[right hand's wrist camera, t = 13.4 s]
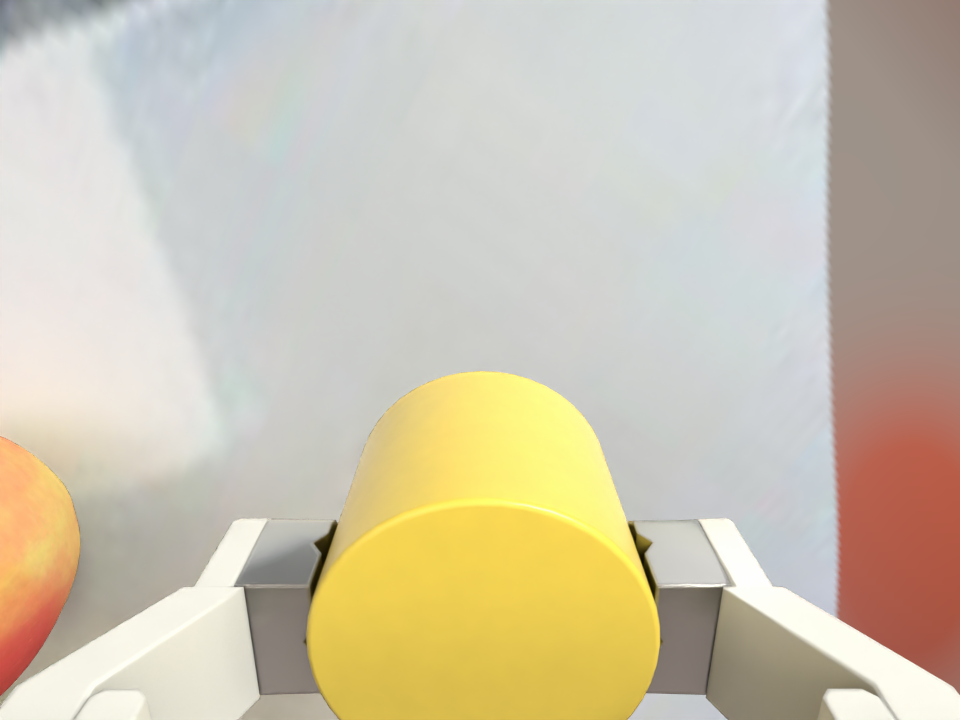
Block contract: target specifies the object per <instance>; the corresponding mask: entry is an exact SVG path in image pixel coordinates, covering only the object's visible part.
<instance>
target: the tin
mask: <svg viewBox="0 0 960 720" xmlns="http://www.w3.org/2000/svg"><path fill="white" fill-rule="evenodd" d="M306 641H307V654H308V658H309V662H310V666H311V670H312V674H313V677H314V679H315V682H316V684H317V686H318V689H319V691H320V693H321V695H322V696H323V698H324V700H325V701H326V703H327V705H328V706H329V708H330V709H331V710H332V711H333V713H334V714H335V715H336V716H337V718H338V719H339V720H627V719H628V718H629V717H630V716H631V715H632V714H633V712H634V711H635V709H636V708H637V707H638V705H639V704H640V702H641V701H642V699H643V697H644V695H645V694H646V692H647V690H648V688H649V686H650V684H651V681H652V678H653V675H654V672H655V669H656V666H657V661H658V655H659V648H660V623H659V617H658V612H657V607H656V604H655V601H654V598H653V595H652V592H651V590H650V587H649V584H648V581H647V578H646V575H645V572H644V569H643V567H642V564H641V561H640V558H639V555H638V552H637V549H636V547H635V544H634V541H633V538H632V535H631V532H630V529H629V526H628V524H627V521H626V518H625V515H624V512H623V509H622V506H621V503H620V501H619V498H618V495H617V492H616V489H615V486H614V483H613V481H612V478H611V475H610V472H609V469H608V466H607V463H606V460H605V458H604V455H603V452H602V449H601V446H600V443H599V441H598V439H597V437H596V435H595V433H594V431H593V429H592V427H591V426H590V425H589V423H588V422H587V421H586V419H585V418H584V416H583V415H582V414H581V413H580V412H579V411H578V410H577V409H576V408H575V407H574V406H573V405H572V404H571V403H570V402H569V401H567V400H566V399H565V398H563V397H562V396H561V395H560V394H558V393H556V392H555V391H553V390H551V389H550V388H548V387H546V386H544V385H542V384H540V383H537V382H535V381H533V380H530V379H527V378H524V377H520V376H517V375H513V374H507V373H500V372H486V371H476V372H465V373H458V374H454V375H449V376H444V377H441V378H439V379H436V380H433V381H430V382H428V383H426V384H424V385H422V386H420V387H418V388H416V389H414V390H412V391H411V392H409V393H408V394H406V395H405V396H403V397H402V398H400V399H399V400H398V401H397V402H396V403H395V404H394V405H392V406H391V407H390V408H389V409H388V410H387V411H386V412H385V414H384V415H383V416H382V417H381V418H380V420H379V421H378V422H377V424H376V425H375V427H374V428H373V430H372V432H371V433H370V435H369V438H368V440H367V442H366V444H365V447H364V449H363V452H362V455H361V458H360V461H359V464H358V467H357V470H356V473H355V476H354V479H353V481H352V484H351V487H350V490H349V493H348V496H347V499H346V502H345V505H344V508H343V511H342V514H341V517H340V519H339V522H338V525H337V528H336V531H335V534H334V537H333V540H332V543H331V546H330V549H329V552H328V555H327V558H326V560H325V563H324V566H323V569H322V572H321V575H320V578H319V581H318V584H317V587H316V590H315V593H314V596H313V599H312V602H311V606H310V610H309V614H308V619H307V630H306Z"/></svg>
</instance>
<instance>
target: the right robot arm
mask: <svg viewBox="0 0 960 720" xmlns="http://www.w3.org/2000/svg"><path fill="white" fill-rule="evenodd" d="M337 525H338V524H337V522H336V520H309V519H271V520H270V519H268V518H266V519H237V520H235V521H233V522H232V523H231V525H230V527H229V528H228V530H227V532H226V533H225V535H224V537H223V538H222V540H221V542H220V543H219V545H218V547H217V548H216V550H215V552H214V553H213V555H212V557H211V558H210V560H209V562H208V563H207V565H206V567H205V568H204V570H203V572H202V573H201V575H200V577H199V578H198V580H197V582H196V583H195V585H194V587H182V588H180V589H179V590H177V591H175V592H174V593H172V594H170V595H169V596H167V597H165V598H164V599H162V600H160V601H158V602H157V603H155V604H153V605H152V606H150V607H148V608H147V609H145V610H143V611H142V612H140V613H138V614H137V615H135V616H133V617H131V618H130V619H128V620H126V621H125V622H123V623H121V624H120V625H118V626H116V627H115V628H113V629H111V630H110V631H108V632H106V633H104V634H103V635H101V636H99V637H98V638H96V639H94V640H93V641H91V642H89V643H88V644H86V645H84V646H83V647H81V648H79V649H77V650H76V651H74V652H72V653H71V654H69V655H67V656H66V657H64V658H62V659H61V660H59V661H57V662H56V663H54V664H52V665H50V666H49V667H47V668H45V669H44V670H42V671H40V672H39V673H37V674H35V675H34V676H32V677H30V678H29V679H27V680H25V681H23V682H22V683H20V684H18V685H17V686H16V687H15V688H14V689H13V691H12V692H11V693H10V694H9V696H8V697H7V698H6V699H5V701H4V702H3V703H2V704H1V706H0V720H239V719H240V718H241V717H242V716H243V715H244V714H245V713H246V712H247V711H248V710H249V709H250V708H251V707H252V706H253V705H254V704H255V703H256V702H257V701H258V700H259V699H260V695H269V694H304V693H320V691H319V689H318V686H317V684H316V682H315V679H314V677H313V674H312V670H311V666H310V662H309V658H308V654H307V641H306V630H307V619H308V614H309V610H310V606H311V602H312V599H313V596H314V593H315V590H316V587H317V584H318V581H319V578H320V575H321V572H322V569H323V566H324V563H325V560H326V558H327V555H328V552H329V549H330V546H331V543H332V540H333V537H334V534H335V531H336V528H337ZM628 526H629V529H630V532H631V535H632V538H633V541H634V544H635V547H636V549H637V552H638V555H639V558H640V561H641V564H642V567H643V569H644V572H645V575H646V578H647V581H648V584H649V587H650V590H651V592H652V595H653V598H654V601H655V604H656V607H657V612H658V617H659V623H660V648H659V655H658V661H657V666H656V669H655V672H654V675H653V678H652V681H651V684H650V686H649V688H648V690H647V692H646V693H661V694H696V695H706V698H707V699H708V700H709V701H710V702H711V703H712V704H713V705H714V706H715V707H716V708H717V709H718V710H719V711H720V712H721V713H722V714H723V715H724V716H725V717H726V718H727V719H728V720H960V695H959V694H958V692H957V691H956V690H955V689H954V688H953V687H952V686H951V685H949V684H947V683H946V682H944V681H942V680H941V679H939V678H937V677H935V676H934V675H932V674H930V673H929V672H927V671H925V670H924V669H922V668H920V667H919V666H917V665H915V664H913V663H912V662H910V661H908V660H907V659H905V658H903V657H902V656H900V655H898V654H896V653H895V652H893V651H891V650H890V649H888V648H886V647H885V646H883V645H881V644H879V643H878V642H876V641H874V640H873V639H871V638H869V637H868V636H866V635H864V634H863V633H861V632H859V631H857V630H856V629H854V628H852V627H851V626H849V625H847V624H846V623H844V622H842V621H840V620H839V619H837V618H835V617H834V616H832V615H830V614H829V613H827V612H825V611H823V610H822V609H820V608H818V607H817V606H815V605H813V604H812V603H810V602H808V601H807V600H805V599H803V598H801V597H800V596H798V595H796V594H795V593H793V592H791V591H790V590H788V589H786V588H784V587H773V586H772V584H771V583H770V581H769V579H768V578H767V576H766V575H765V573H764V571H763V570H762V568H761V567H760V565H759V563H758V562H757V560H756V559H755V557H754V555H753V554H752V552H751V550H750V549H749V547H748V546H747V544H746V542H745V541H744V539H743V538H742V536H741V534H740V533H739V531H738V530H737V528H736V526H735V525H734V523H733V521H731V520H729V519H728V518H716V519H694V520H656V521H628Z"/></svg>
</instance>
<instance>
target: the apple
mask: <svg viewBox="0 0 960 720" xmlns="http://www.w3.org/2000/svg"><path fill="white" fill-rule="evenodd" d="M79 555H80V532H79V525H78V521H77V517H76V514H75V510H74V506H73V503H72V500H71V497H70V495H69V492H68V491H67V489H66V487H65V486H64V484H63V483H62V482H61V480H60V479H59V478H58V477H57V476H56V475H55V474H54V473H53V472H52V471H51V470H50V469H49V468H48V467H47V466H46V465H45V464H43V463H42V462H41V461H40V460H39V459H37V458H36V457H35V456H34V455H32V454H31V453H29V452H28V451H27V450H25V449H24V448H22V447H20V446H19V445H17V444H15V443H13V442H11V441H9V440H7V439H5V438H3V437H0V696H1V695H2V694H3V693H4V692H5V691H6V690H7V689H8V688H9V687H10V686H11V685H12V684H13V683H14V682H15V681H16V680H17V678H18V677H19V676H20V675H21V674H22V673H23V671H24V670H25V669H26V668H27V667H28V666H29V664H30V663H31V661H32V660H33V659H34V657H35V656H36V654H37V653H38V652H39V650H40V649H41V647H42V646H43V644H44V642H45V641H46V639H47V637H48V635H49V634H50V632H51V630H52V628H53V627H54V625H55V623H56V621H57V619H58V617H59V615H60V612H61V610H62V608H63V606H64V604H65V602H66V600H67V597H68V595H69V592H70V590H71V587H72V584H73V581H74V578H75V575H76V572H77V567H78V562H79Z"/></svg>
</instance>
